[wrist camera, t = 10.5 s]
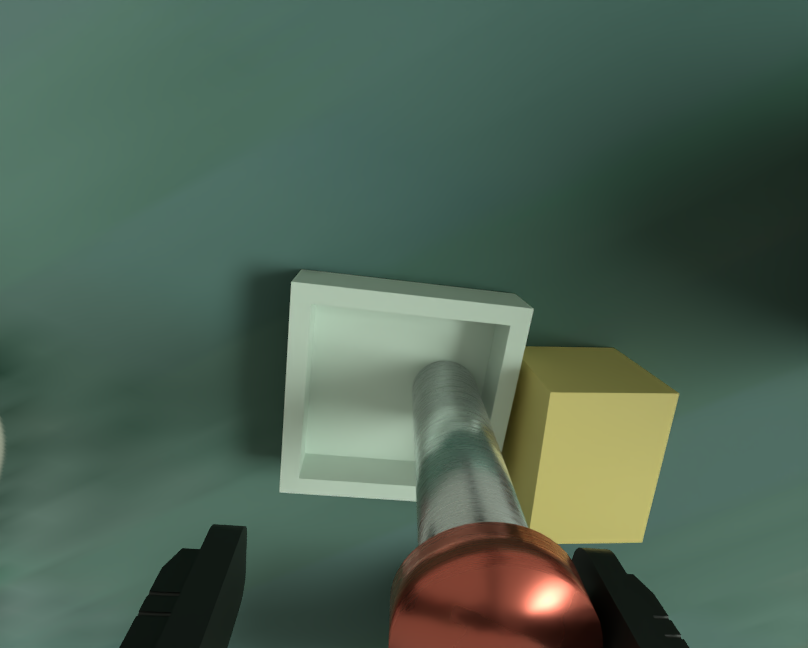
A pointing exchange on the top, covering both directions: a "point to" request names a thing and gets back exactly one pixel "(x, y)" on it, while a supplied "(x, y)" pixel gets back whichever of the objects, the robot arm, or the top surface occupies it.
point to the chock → (587, 443)
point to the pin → (478, 540)
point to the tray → (384, 374)
